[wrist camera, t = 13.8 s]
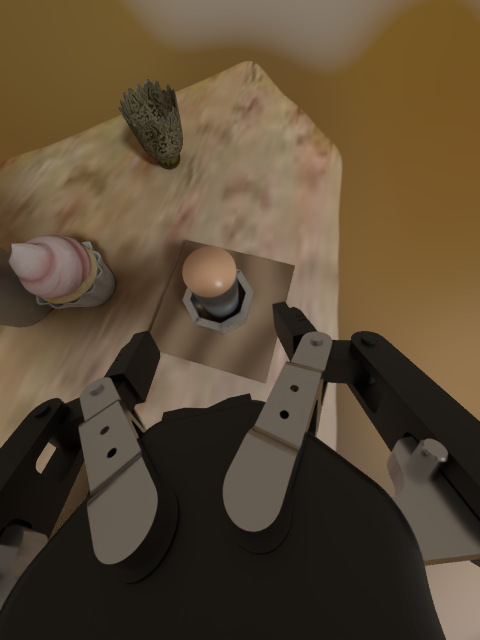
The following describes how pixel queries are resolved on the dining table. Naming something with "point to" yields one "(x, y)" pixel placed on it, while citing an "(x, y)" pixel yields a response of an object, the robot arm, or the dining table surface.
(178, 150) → the cup
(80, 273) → the cupcake
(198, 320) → the grey octagonal sleeve
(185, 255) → the board
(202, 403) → the dining table surface
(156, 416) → the dining table surface
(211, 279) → the grey cylinder tan top
